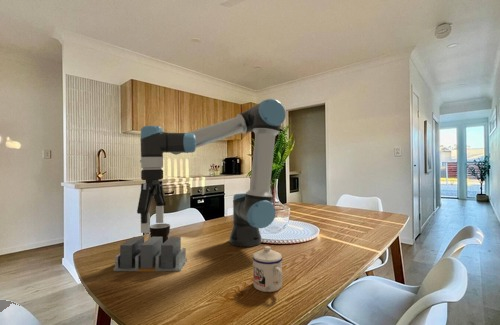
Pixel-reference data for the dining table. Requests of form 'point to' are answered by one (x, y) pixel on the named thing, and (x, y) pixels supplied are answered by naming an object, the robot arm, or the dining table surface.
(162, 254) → the rack
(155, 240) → the grey rectangular block
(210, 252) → the dining table surface
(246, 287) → the dining table surface
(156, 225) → the coffee mug
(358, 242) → the dining table surface
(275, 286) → the teacup with lid
